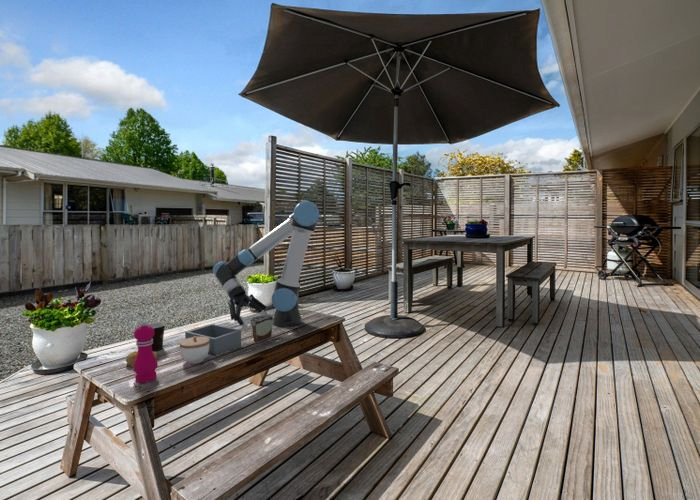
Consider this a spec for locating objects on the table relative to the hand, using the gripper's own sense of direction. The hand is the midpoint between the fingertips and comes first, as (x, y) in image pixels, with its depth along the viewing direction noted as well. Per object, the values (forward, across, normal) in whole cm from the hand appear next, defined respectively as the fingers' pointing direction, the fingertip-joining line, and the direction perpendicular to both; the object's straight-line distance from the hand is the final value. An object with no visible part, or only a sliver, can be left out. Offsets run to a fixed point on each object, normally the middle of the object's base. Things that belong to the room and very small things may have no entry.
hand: (258, 326), depth 165 cm
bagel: (-8, +43, -18) cm, 47 cm away
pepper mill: (+3, +50, -6) cm, 51 cm away
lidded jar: (+3, +31, -6) cm, 32 cm away
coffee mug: (-16, +31, -25) cm, 43 cm away
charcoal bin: (-2, +18, -11) cm, 21 cm away
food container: (+4, 0, -4) cm, 6 cm away
